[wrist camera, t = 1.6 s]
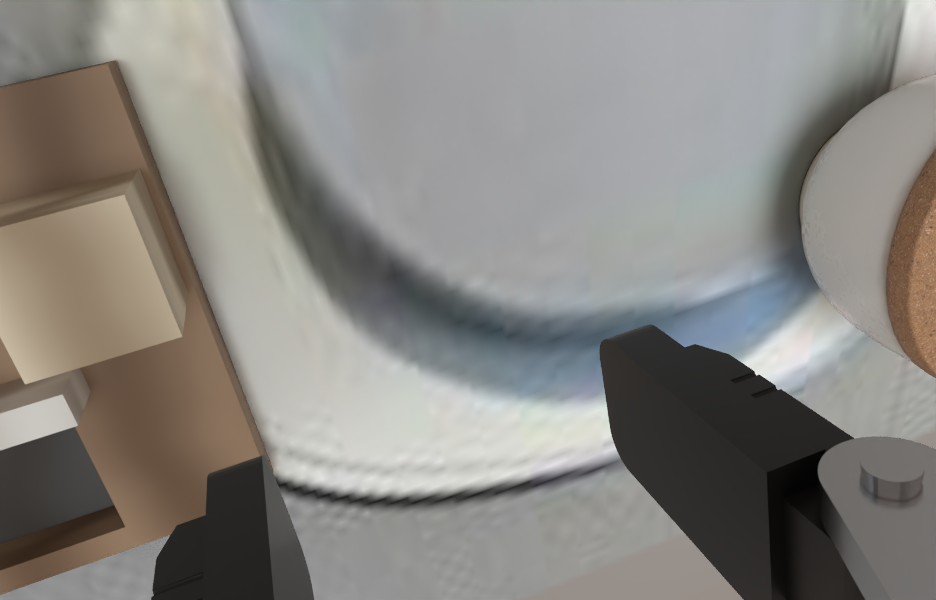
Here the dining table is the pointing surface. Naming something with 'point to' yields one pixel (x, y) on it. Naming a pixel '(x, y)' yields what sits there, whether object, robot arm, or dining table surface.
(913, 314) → the lidded bowl
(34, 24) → the dining table surface
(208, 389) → the channel deck
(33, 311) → the birch block
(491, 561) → the dining table surface
